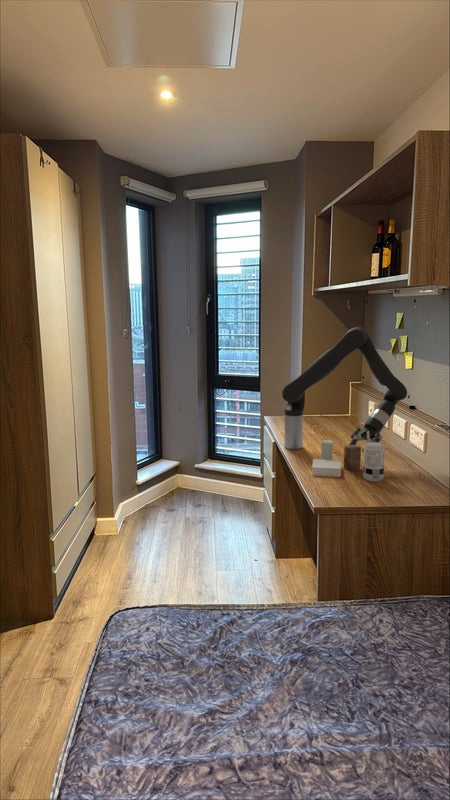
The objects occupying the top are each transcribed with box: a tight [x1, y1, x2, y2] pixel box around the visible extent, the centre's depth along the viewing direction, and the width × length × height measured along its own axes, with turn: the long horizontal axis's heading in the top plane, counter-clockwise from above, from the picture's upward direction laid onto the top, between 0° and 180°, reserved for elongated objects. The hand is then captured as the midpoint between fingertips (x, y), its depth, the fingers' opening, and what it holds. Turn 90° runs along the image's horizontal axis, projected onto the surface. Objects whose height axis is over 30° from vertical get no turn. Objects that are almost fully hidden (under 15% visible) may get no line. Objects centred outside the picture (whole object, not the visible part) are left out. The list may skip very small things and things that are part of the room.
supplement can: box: [362, 441, 386, 483], centre depth 207 cm, size 8×8×15 cm
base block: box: [311, 458, 342, 478], centre depth 219 cm, size 12×12×4 cm
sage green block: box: [320, 439, 334, 460], centre depth 231 cm, size 5×5×10 cm
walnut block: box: [343, 444, 362, 472], centre depth 222 cm, size 5×5×10 cm
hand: (357, 449), depth 223 cm, fingers open, 8 cm apart
